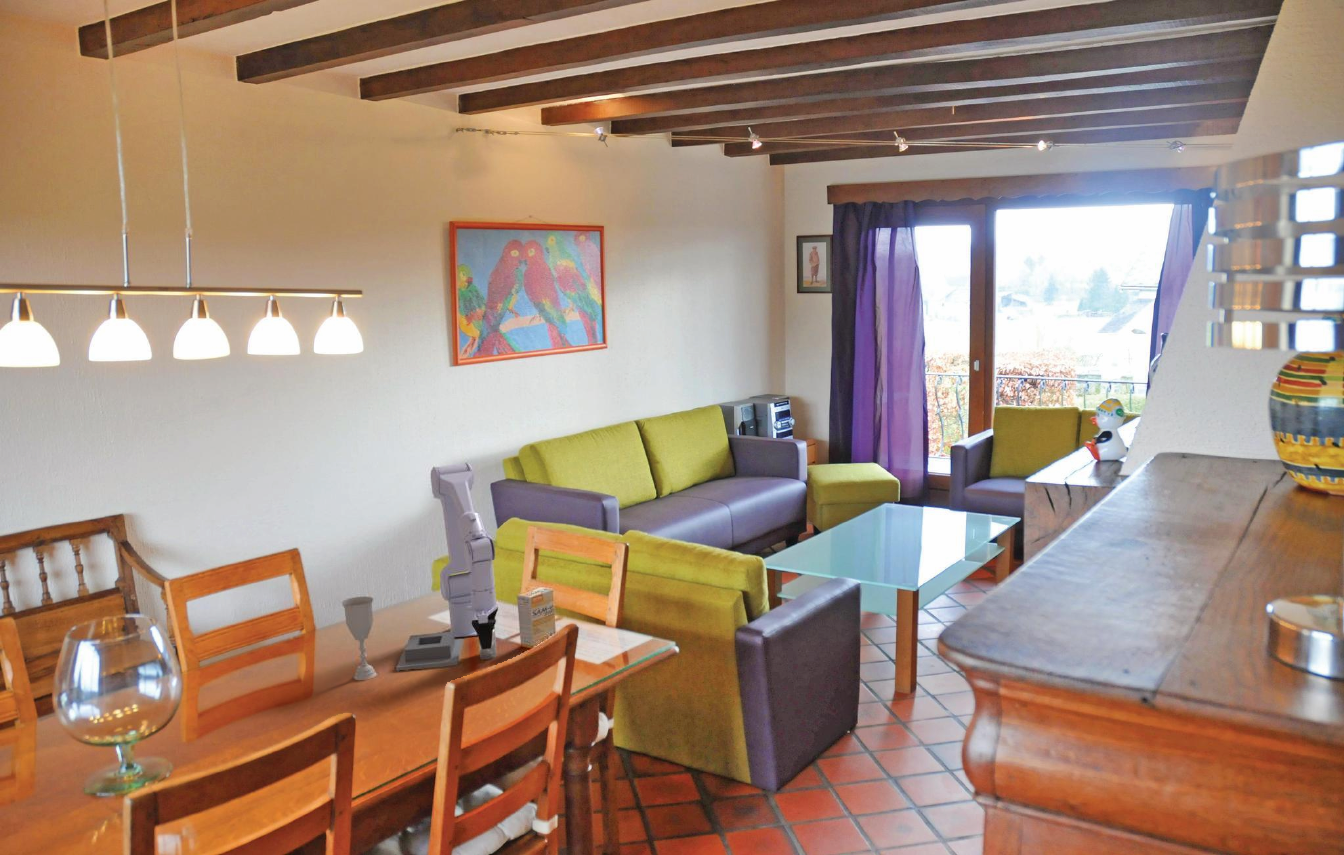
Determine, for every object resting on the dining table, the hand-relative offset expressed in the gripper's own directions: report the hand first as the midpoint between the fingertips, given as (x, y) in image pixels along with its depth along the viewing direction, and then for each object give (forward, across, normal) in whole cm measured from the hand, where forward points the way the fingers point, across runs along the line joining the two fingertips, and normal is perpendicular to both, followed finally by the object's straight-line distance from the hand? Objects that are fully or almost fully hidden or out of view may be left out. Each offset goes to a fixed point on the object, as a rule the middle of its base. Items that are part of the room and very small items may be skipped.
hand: (487, 643), depth 242 cm
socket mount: (+3, -4, -14) cm, 15 cm away
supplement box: (+3, -6, +12) cm, 14 cm away
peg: (+3, 0, 0) cm, 3 cm away
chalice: (+3, +5, -28) cm, 29 cm away
